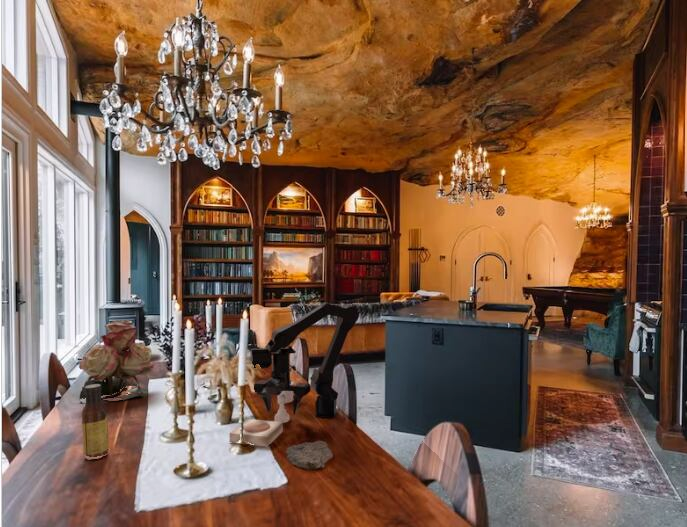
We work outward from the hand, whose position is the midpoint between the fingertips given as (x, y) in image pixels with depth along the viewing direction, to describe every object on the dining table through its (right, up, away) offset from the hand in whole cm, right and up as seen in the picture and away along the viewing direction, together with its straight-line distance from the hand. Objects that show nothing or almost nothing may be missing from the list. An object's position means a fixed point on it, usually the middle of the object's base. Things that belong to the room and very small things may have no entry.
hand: (281, 413), depth 154 cm
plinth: (-6, -3, -14) cm, 15 cm away
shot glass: (-2, -2, +21) cm, 21 cm away
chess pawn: (0, -3, 0) cm, 3 cm away
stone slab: (+12, -4, -28) cm, 31 cm away
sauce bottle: (-48, -4, -26) cm, 55 cm away
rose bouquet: (-70, -3, +32) cm, 77 cm away
